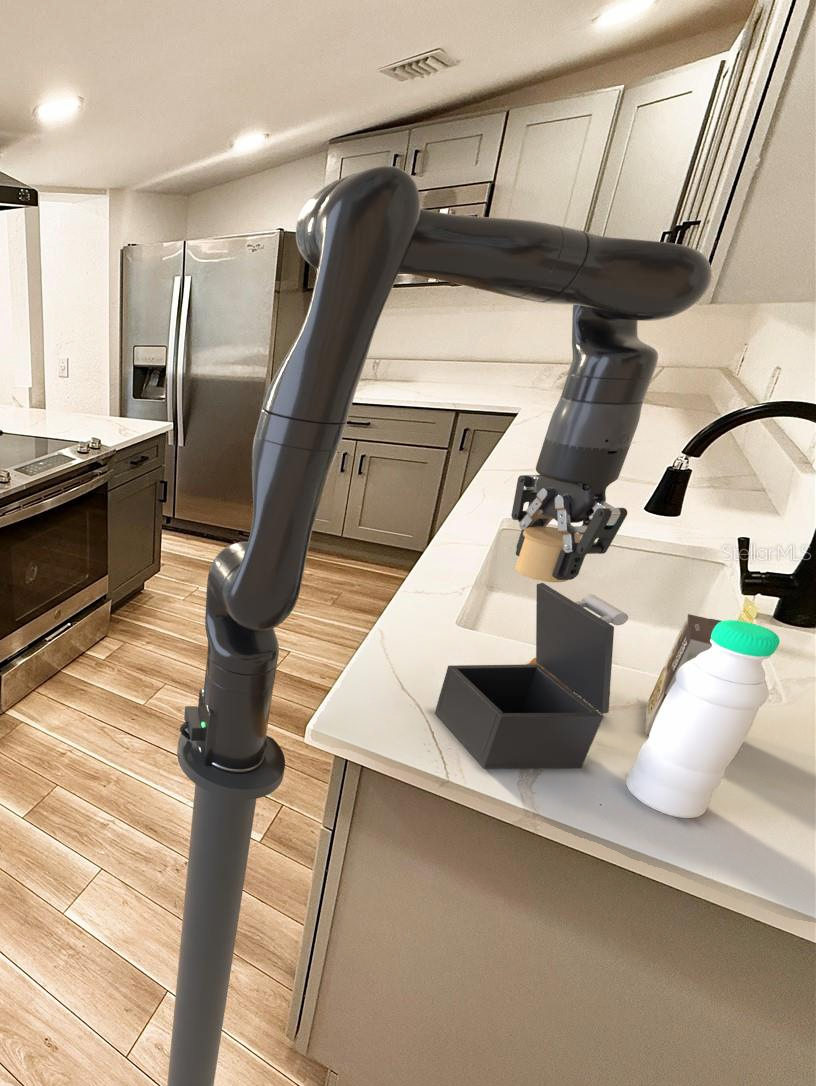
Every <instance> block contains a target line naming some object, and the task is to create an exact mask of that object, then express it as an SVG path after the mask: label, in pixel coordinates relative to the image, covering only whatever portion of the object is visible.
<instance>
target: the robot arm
mask: <svg viewBox="0 0 816 1086" xmlns="http://www.w3.org/2000/svg"><path fill="white" fill-rule="evenodd" d="M295 241H296V247H297V249H298V251H299V253H300V255H301V256H302V258H303V260H305V262H307V264H309V265H310V266H311V267H312V268H315V269H316V270H317V272H316V277H315V281H314V285H313V290H312V295H311V299H310V303H309V306H308V310H307V313H306V316H305V318H304V321H303V324H302V326H301V328H300V330H299V332H298V334H297V336H296V338H295V340H294V341H293V343H292V345H291V347H290V348H289V350H288V351H287V353H286V355H285V357H284V358H283V360H282V362H281V363H280V366H278V369H277V370H276V373H275V374H274V376H273V379H272V380H271V382H270V385H269V386H268V389H267V391H266V394H265V397H264V399H263V403H262V405H261V409H260V410H261V411H260V413H259V418H258V422H257V425H256V430H255V434H254V437H253V441H252V450H251V491H252V492H251V493H252V521H251V527H250V532H249V537H248V540H247V541H238V542H234V543H231V544H229V545H228V546H226V547H224V548H223V549H222V550H220V551H219V553H218V554H217V555H216V557H215V558H214V559H213V561H212V563H211V565H210V567H209V571H208V575H207V581H206V596H205V597H206V598H205V599H206V600H205V617H204V625H205V627H204V628H205V633H206V637H207V638H206V639H207V653H206V662H205V663H206V665H205V674H204V685H203V688H200V689H199V692H198V705H190V706H189V705H187V706H185V707H184V715H183V716H184V717H183V719H184V723H182V724H181V725H180V727H179V731H180V734H182V735H183V736H184V737H186V738H187V739H188V740H190V739H191V741H196V742H197V745H198V750H199V753H200V755H201V758H202V761H203V764H204V765H205V766H213V767H215V768H217V769H219V770H221V771H224V772H228V773H235V774H243V773H249V772H252V771H254V770H256V769H258V768H259V767H260V766H261V764H262V763H263V759H264V750H265V747H266V749H267V742H266V735H267V734H268V726H269V720H270V714H271V706H272V700H273V693H274V686H275V680H276V674H277V673H276V672H277V666H278V661H279V653H280V645H279V640H278V637H277V634H276V631H275V628H276V627H278V626H280V625H281V624H283V622H285V621H286V620H287V619H288V617H289V616H290V615H291V613H293V611H294V609H295V607H296V605H297V602H298V600H299V597H300V593H301V589H302V588H301V587H302V583H303V578H304V573H305V569H306V564H307V563H306V562H307V558H308V553H309V546H310V542H311V537H312V533H313V529H314V526H315V523H316V521H317V520H316V519H317V517H318V514H319V510H320V508H321V505H322V500H323V497H324V494H325V490H326V488H327V484H328V481H329V478H330V474H331V471H332V468H333V465H334V462H335V460H336V457H337V455H338V451H339V449H340V445H341V442H342V439H343V436H344V433H345V430H346V427H347V424H348V423H347V422H348V421H349V418H350V417H349V416H350V413H351V409H352V405H353V402H354V398H355V395H356V392H357V389H358V386H359V383H360V381H361V377H362V374H363V371H364V367H365V365H366V361H367V359H368V355H369V351H370V347H371V345H372V341H373V339H374V334H375V332H376V329H377V326H378V324H379V321H380V318H381V315H382V313H383V311H384V308H385V306H386V303H387V301H388V299H389V296H390V295H391V292H392V289H393V288H394V285H395V283H396V280H397V278H398V275H399V274H403V275H410V276H416V277H421V278H428V279H433V280H438V281H443V282H447V283H452V284H455V285H460V286H464V287H468V288H471V289H475V290H476V289H477V290H481V291H485V292H489V293H494V294H499V295H501V296H507V297H511V298H516V299H522V300H526V301H531V302H536V303H541V304H547V305H548V304H549V305H567V306H568V305H569V306H571V305H572V316H571V317H572V319H571V323H572V324H571V349H572V360H571V363H570V366H569V369H568V373H567V375H566V378H565V381H564V385H563V386H562V387H563V388H562V391H561V394H560V395H561V396H560V397H559V400H558V403H556V406H555V408H554V410H553V413H552V414H551V418H550V420H549V424H548V427H547V430H546V434H545V437H544V438H543V439H544V440H543V443H542V445H541V449H540V452H539V456H538V458H537V463H536V466H535V471H536V473H537V474H523V475H519V476H518V478H517V482H516V487H515V493H514V498H513V505H512V510H511V519H512V520H514V521H517V522H518V523H519V528H520V529H521V531H520V534H519V538H518V539H517V543H516V551H515V556H517V557H519V555H520V552H521V548H522V545H523V542H524V539H525V537H524V535H523V532H524V530H525V529H526V528H528V527H534V526H544V527H548V525H549V524H550V523H551V522H552V520H554V521H556V522H557V528H558V531H559V533H561V534H562V536H563V550H561V551H560V554H559V557H558V560H557V563H556V566H555V568H554V571H553V574H552V576H553V577H554V578H556V579H558V580H567V581H572V580H574V579H575V578H576V577H578V575H579V574H580V570H581V568H582V565H583V563H584V560H585V558H586V556H587V555H595V554H596V555H600V554H601V555H604V554H606V553H607V552H608V550H609V548H610V546H611V544H612V543H613V541H614V539H615V538H616V536H617V534H618V532H619V530H620V528H621V527H622V525H623V523H624V522H625V520H626V518H627V516H628V510H627V508H626V507H614V506H613V505H611V504H610V503H608V502H607V497H606V492H607V488H609V486H610V485H611V484H613V483H614V482H616V481H617V480H618V479H619V477H620V475H621V472H622V469H623V466H624V464H625V461H626V459H627V456H628V453H629V451H630V447H631V445H632V442H633V439H634V437H635V434H636V431H637V428H638V425H639V422H640V418H641V413H642V407H643V404H644V400H645V398H646V396H647V393H648V390H649V388H650V384H651V382H652V380H653V376H654V374H655V371H656V368H657V364H658V361H659V353H658V351H657V350H656V348H655V347H652V346H651V345H650V344H647V343H646V342H643V341H642V340H640V338H639V335H638V334H639V333H638V322H640V321H641V322H654V321H660V320H665V319H669V318H673V317H675V316H677V315H679V314H681V313H683V312H685V311H687V310H689V309H690V308H691V307H692V306H694V305H695V304H696V303H698V302H699V301H700V300H701V299H702V298H703V297H704V295H705V294H706V293H707V291H708V289H709V287H710V285H711V283H712V277H713V271H712V270H713V269H712V266H711V263H710V261H709V259H708V258H707V257H706V256H705V254H703V253H702V252H700V251H699V250H697V249H695V248H693V247H691V246H687V245H684V244H679V243H673V242H664V241H655V240H647V239H646V240H645V239H634V238H624V237H623V238H622V237H620V238H619V237H611V236H605V235H599V234H594V233H591V232H588V231H584V230H580V229H576V228H572V227H566V226H561V225H558V224H553V223H547V222H541V221H534V220H527V219H518V218H502V217H491V216H490V217H489V216H475V215H464V214H463V215H462V214H461V215H460V214H452V213H445V212H438V211H433V210H428V209H425V208H424V209H423V208H421V196H420V192H419V188H418V186H417V184H416V182H415V180H414V179H413V177H412V176H411V175H410V174H409V173H408V172H407V171H405V170H404V169H402V168H401V167H400V168H399V167H397V166H393V165H381V166H375V167H372V168H368V169H367V168H366V169H364V170H360V171H358V172H355V173H353V174H350V175H346V176H344V177H342V178H338V179H336V180H334V181H332V182H330V183H328V184H327V185H325V186H323V188H320V190H318V191H317V192H316V193H315V194H313V196H312V197H311V198H310V199H309V200H308V201H307V202H306V203H305V205H304V207H303V208H302V210H301V212H300V213H299V216H298V219H297V222H296V226H295ZM526 503H528V506H527V508H526V510H524V506H525V504H526ZM581 522H582V524H581V525H579V526H577V525H576V526H575V525H572V524H575V523H576V524H579V523H581ZM575 533H577V534H579V536H580V542H579V543H575ZM186 728H187V729H188V732H189V733H187V732H186V731H185V729H186Z"/></svg>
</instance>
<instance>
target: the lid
mask: <svg viewBox="0 0 816 1086" xmlns="http://www.w3.org/2000/svg"><path fill="white" fill-rule="evenodd" d="M535 605H536V608H535V609H536V611H535V612H536V613H535V614H536V615H535V616H536V617H535V618H536V619H535V621H536V622H535V625H536V626H535V641H536V642H535V658H536V662H537V663H538V664H539V665H540V666H542V667H543V668H544V669H545V670H547V671H548V672H549V673H551V674H552V675H553V676H554V677H556V678H557V679H558V680H559V681H561V682H562V683H563V684H565V685H566V686H567V687H568V688H570V689H571V690H572V691H573V692H574V693H575V694H576V695H577V696H579V697H580V698H581V699H582V700H584V701H585V702H586V703H588V704H589V705H590V706H591V707H593V708H594V709H595V710H596V711H598V713H600V714H601V715H603V714H608V713H609V712H610V711H609V710H610V699H611V698H610V697H611V681H612V666H613V651H614V650H613V649H614V636H615V635H614V634H615V633H614V632H615V626H621V625H624V624H626V622H628V621H629V615H628V614H627V613H626V612H624V611H622V610H621V609H620V608H617V607H616V606H614V605H612V604H610V603H609V602H607V601H605V600H603V599H602V598H600V597H598V596H597V595H595V594H591V593H590V594H587V595H585V596H583V597H582V598H581V600H578V601H573V600H571V599H570V598H568V597H567V596H565V595H563V594H562V593H561V592H559V591H557V590H555V589H554V588H552V587H551V586H549V585H547V584H546V583H544V582H540V583H536V603H535ZM592 612H593V613H592Z"/></svg>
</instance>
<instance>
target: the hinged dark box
mask: <svg viewBox="0 0 816 1086" xmlns="http://www.w3.org/2000/svg"><path fill="white" fill-rule="evenodd" d="M434 715H435V716H436V717H437V718H438V719H439V720H440V721H441V722H442V723H443V725H445V727H446V728H447V729H448V731H450V733H451V734H452V735H453V736H454V737H455V738H456V740H458V741H459V743H460V744H461V745H462V746H463V747H464V748H465V749H466V750H467V752H468V753H469V754H470V755H471V756H472V757H473V759H475V761H476V762H477V763H478V764H479V766H480V767H482V769H484V770H487V769H490V770H491V769H495V770H497V769H498V770H499V769H502V770H504V769H506V770H507V769H508V770H509V769H514V770H515V769H516V770H517V769H519V770H521V769H582V768H583V765H584V763H585V760H586V758H587V756H588V754H589V751H590V749H591V747H592V745H593V742H594V740H595V737H596V735H597V733H598V730H599V728H600V726H601V723H602V721H603V719H604V715H603V714H601V713H600V712H599V711H598V710H596V709H595V708H594V707H592V706H591V705H590V704H589V703H587V702H586V701H585V700H584V699H582V698H581V697H580V696H579V695H577V694H576V693H575V692H572V691H571V690H570V689H568V688H567V687H566V686H565V685H563V684H562V683H561V682H560V681H558V680H557V679H556V678H555V677H553V676H552V675H551V674H549V673H548V672H547V671H546V670H544V669H543V668H542V667H541V666H539V665H538V664H528V663H526V664H468V665H467V664H465V665H464V664H463V665H462V664H461V665H460V664H459V665H458V664H457V665H455V664H453V665H447V668H446V671H445V675H444V678H443V682H442V685H441V689H440V693H439V695H438V700H437V703H436V707H435V710H434Z"/></svg>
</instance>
